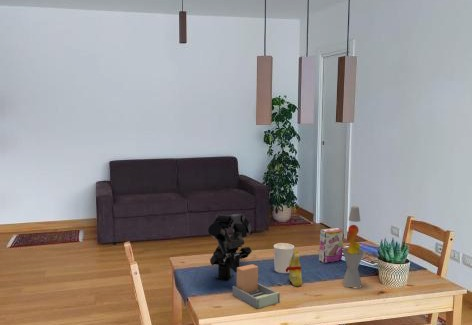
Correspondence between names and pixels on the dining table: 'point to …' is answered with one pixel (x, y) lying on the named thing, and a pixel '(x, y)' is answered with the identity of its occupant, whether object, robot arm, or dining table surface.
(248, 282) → the terracotta block
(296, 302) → the dining table surface
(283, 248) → the white tapered cylinder
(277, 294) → the gray open tray
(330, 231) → the candy bar box
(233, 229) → the robot arm
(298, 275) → the chocolate bunny
